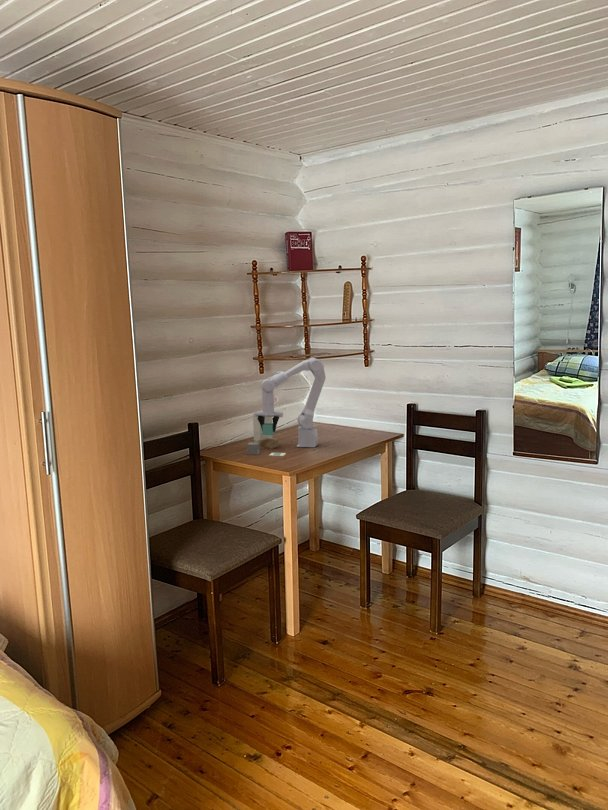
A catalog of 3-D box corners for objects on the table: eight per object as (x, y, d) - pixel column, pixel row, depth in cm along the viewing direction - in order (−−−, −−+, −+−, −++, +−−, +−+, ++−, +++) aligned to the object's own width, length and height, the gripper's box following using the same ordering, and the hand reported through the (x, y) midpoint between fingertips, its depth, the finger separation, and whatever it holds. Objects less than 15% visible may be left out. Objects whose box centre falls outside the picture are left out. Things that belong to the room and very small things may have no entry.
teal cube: (275, 433, 327) (274, 423, 326) (272, 435, 322) (272, 425, 321) (265, 432, 328) (265, 423, 327) (262, 435, 323) (262, 425, 322)
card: (285, 453, 313) (285, 452, 313) (283, 456, 308) (283, 455, 308) (271, 453, 315) (271, 452, 315) (268, 455, 310) (268, 454, 310)
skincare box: (260, 443, 336) (259, 415, 333) (253, 442, 340) (252, 413, 338) (273, 441, 341) (272, 413, 339) (265, 439, 346) (264, 411, 343)
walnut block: (278, 446, 330) (278, 438, 330) (272, 450, 323) (272, 442, 322) (263, 445, 333) (263, 437, 332) (257, 449, 326) (257, 441, 325)
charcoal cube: (260, 452, 317) (260, 442, 316) (257, 455, 312) (256, 444, 311) (250, 452, 318) (250, 442, 317) (247, 454, 313) (246, 444, 313)
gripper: (251, 405, 321) (252, 432, 323) (280, 405, 317) (281, 433, 320) (255, 402, 327) (256, 429, 329) (283, 403, 324) (284, 430, 326)
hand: (268, 431), depth 325 cm, fingers closed on teal cube, 5 cm apart
